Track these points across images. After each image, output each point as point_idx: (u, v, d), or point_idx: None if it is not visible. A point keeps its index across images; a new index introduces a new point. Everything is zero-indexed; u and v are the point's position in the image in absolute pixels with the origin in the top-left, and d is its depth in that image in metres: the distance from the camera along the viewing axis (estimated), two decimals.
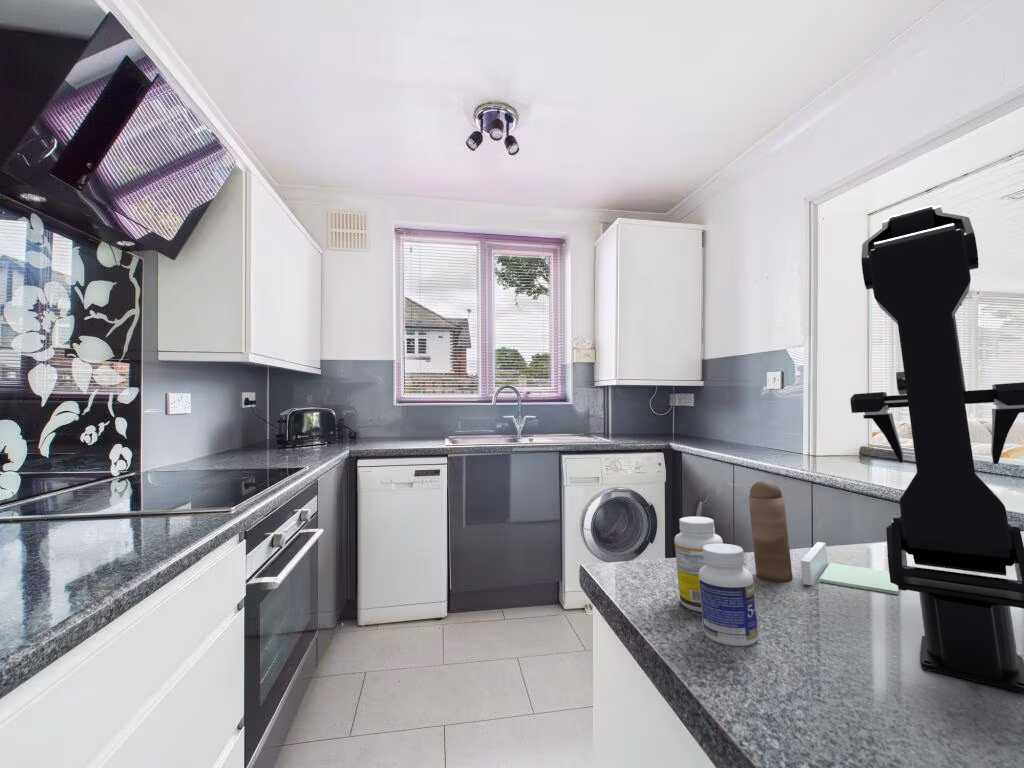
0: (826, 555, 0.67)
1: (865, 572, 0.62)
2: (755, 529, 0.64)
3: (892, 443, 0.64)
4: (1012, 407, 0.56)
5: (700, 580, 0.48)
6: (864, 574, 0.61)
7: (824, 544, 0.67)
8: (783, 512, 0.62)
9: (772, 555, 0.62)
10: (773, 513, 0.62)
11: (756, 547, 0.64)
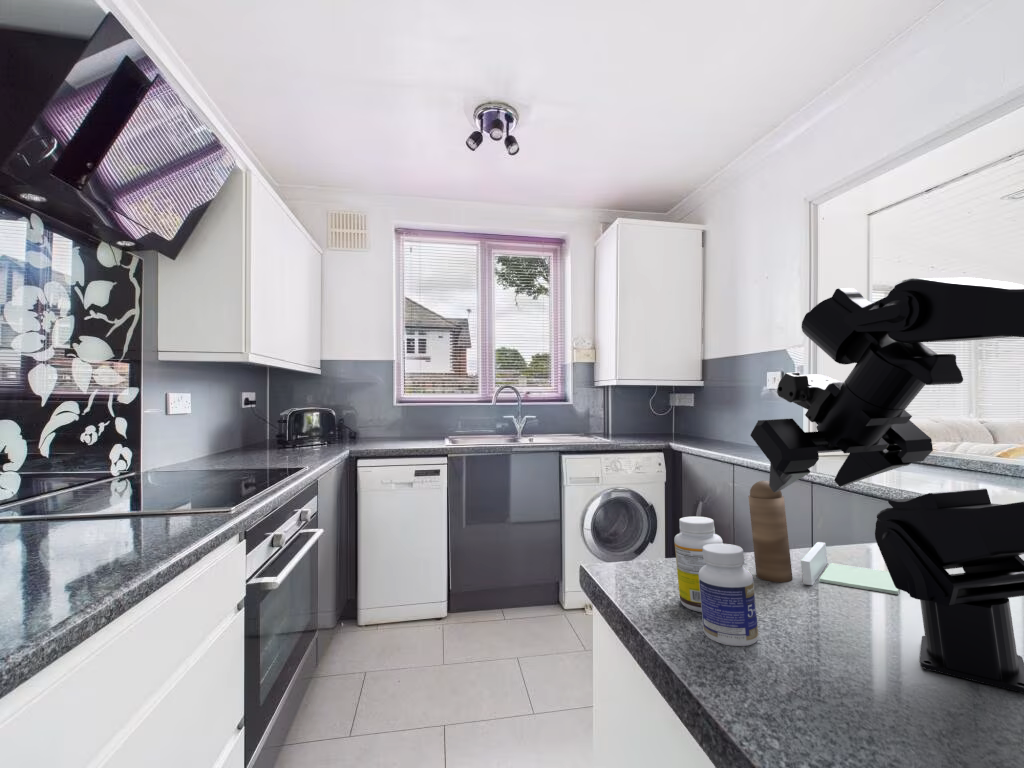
0: (826, 555, 0.67)
1: (865, 572, 0.62)
2: (755, 529, 0.64)
3: (785, 485, 0.53)
4: (894, 453, 0.53)
5: (700, 580, 0.48)
6: (864, 574, 0.61)
7: (824, 544, 0.67)
8: (783, 512, 0.62)
9: (772, 555, 0.62)
10: (773, 513, 0.62)
11: (756, 547, 0.64)
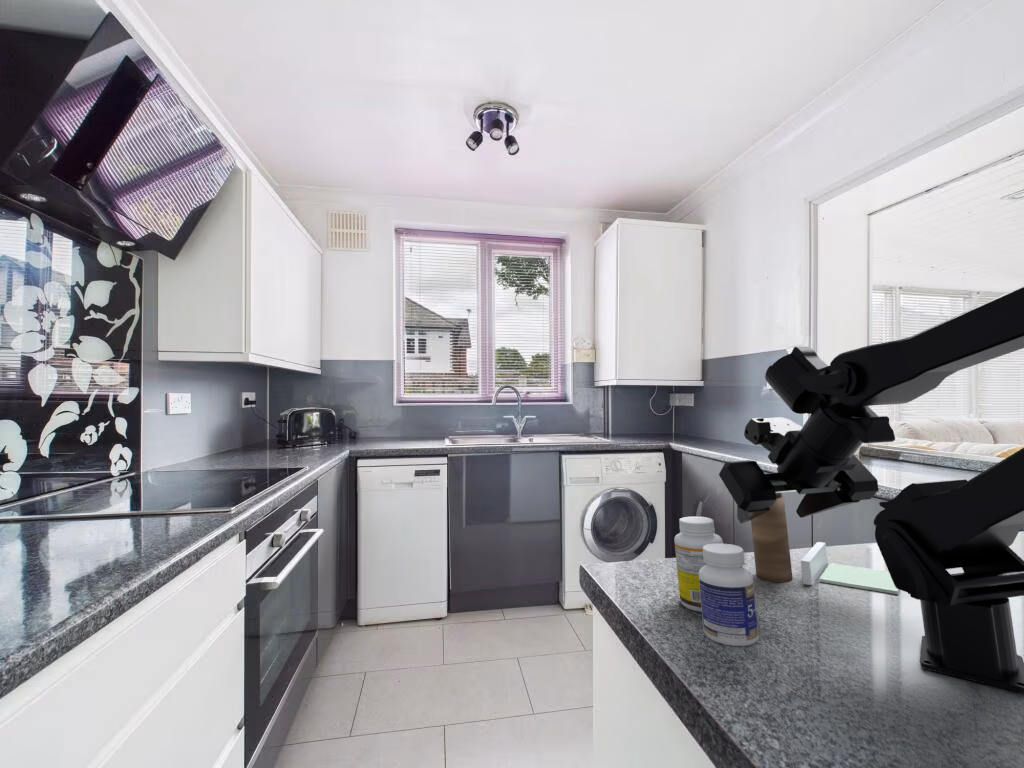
0: (826, 555, 0.67)
1: (865, 572, 0.62)
2: (755, 529, 0.64)
3: (749, 518, 0.60)
4: (846, 491, 0.59)
5: (700, 580, 0.48)
6: (864, 574, 0.61)
7: (824, 544, 0.67)
8: (783, 512, 0.62)
9: (772, 555, 0.62)
10: (773, 513, 0.62)
11: (756, 547, 0.64)
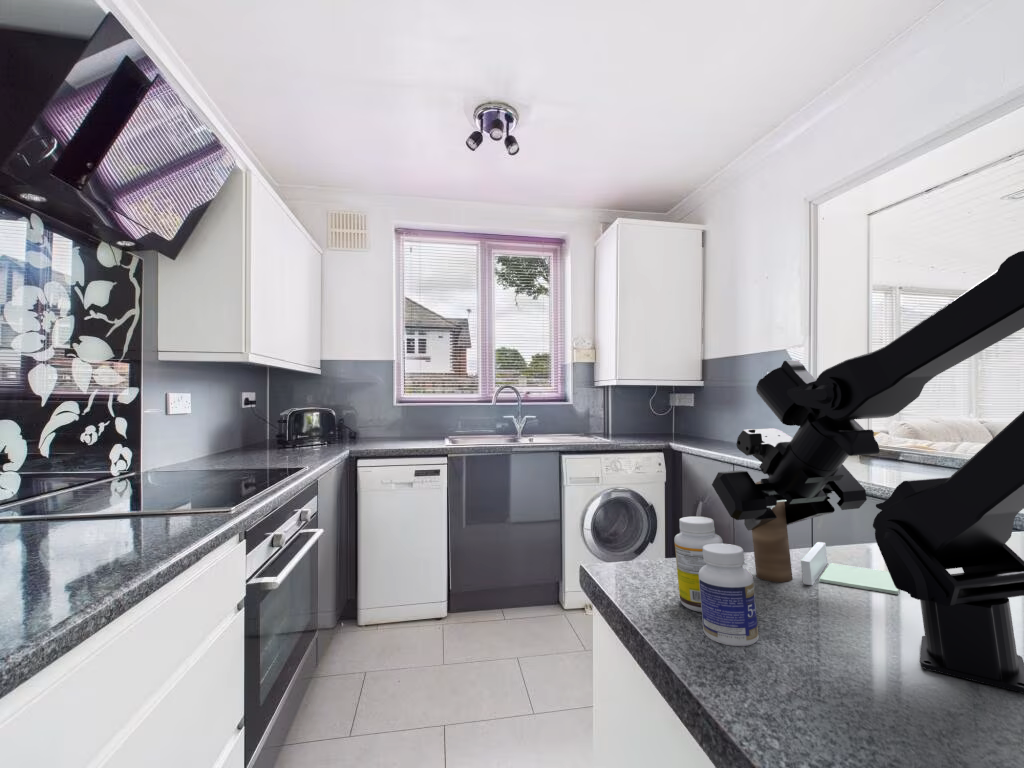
0: (826, 555, 0.67)
1: (865, 572, 0.62)
2: (755, 529, 0.64)
3: (757, 526, 0.62)
4: (820, 502, 0.60)
5: (700, 580, 0.48)
6: (864, 574, 0.61)
7: (824, 544, 0.67)
8: (783, 512, 0.62)
9: (772, 555, 0.62)
10: None
11: (756, 547, 0.64)
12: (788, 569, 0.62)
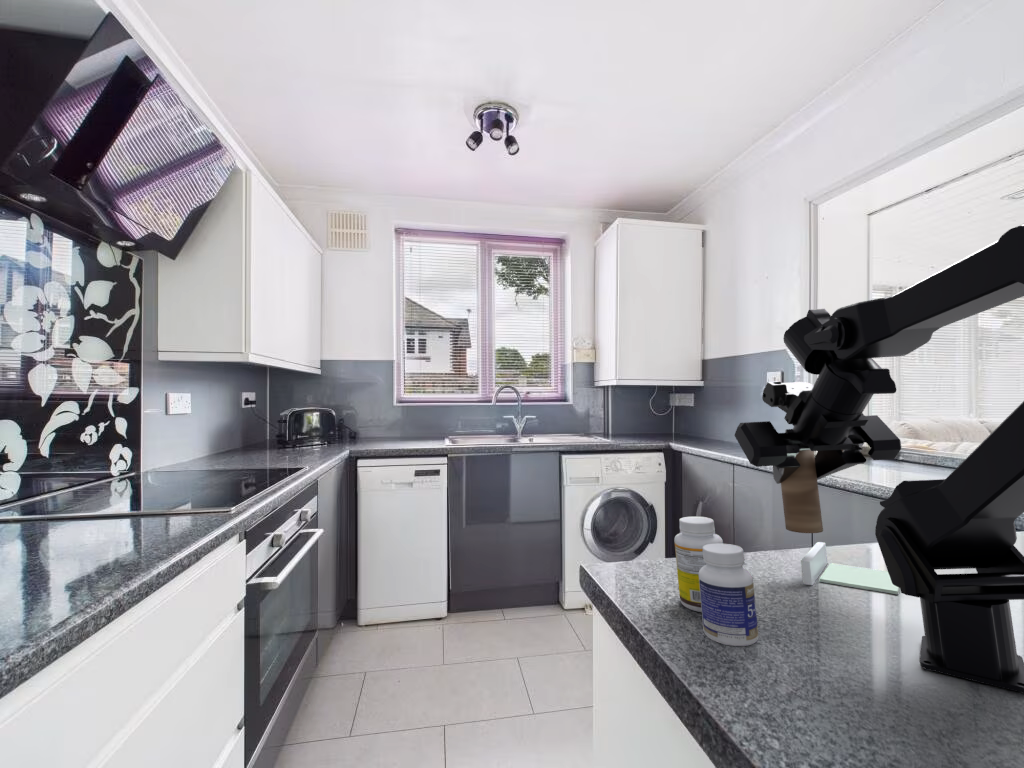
0: (826, 555, 0.67)
1: (865, 572, 0.62)
2: (783, 481, 0.64)
3: (783, 477, 0.62)
4: (851, 452, 0.60)
5: (700, 580, 0.48)
6: (864, 574, 0.61)
7: (824, 544, 0.67)
8: (811, 464, 0.62)
9: (799, 506, 0.62)
10: None
11: (784, 499, 0.64)
12: (817, 521, 0.61)
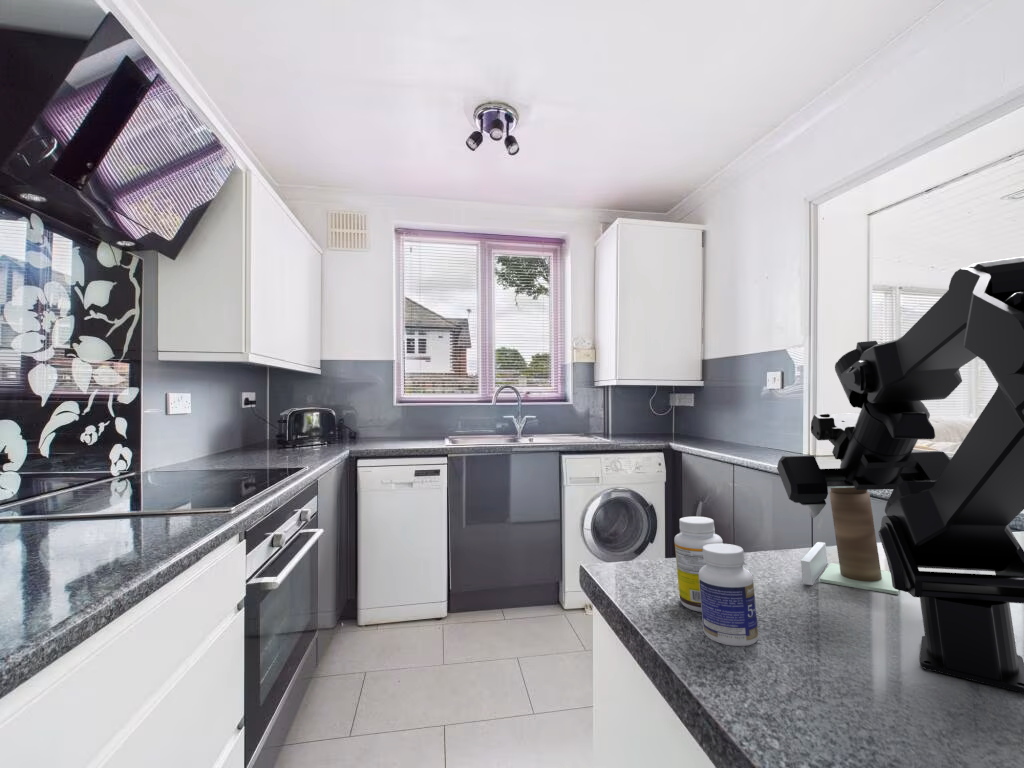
0: (826, 555, 0.67)
1: None
2: (835, 524, 0.62)
3: (814, 512, 0.61)
4: None
5: (700, 580, 0.48)
6: None
7: (824, 544, 0.67)
8: (865, 509, 0.59)
9: (852, 552, 0.60)
10: (852, 509, 0.60)
11: (837, 543, 0.62)
12: (873, 568, 0.59)
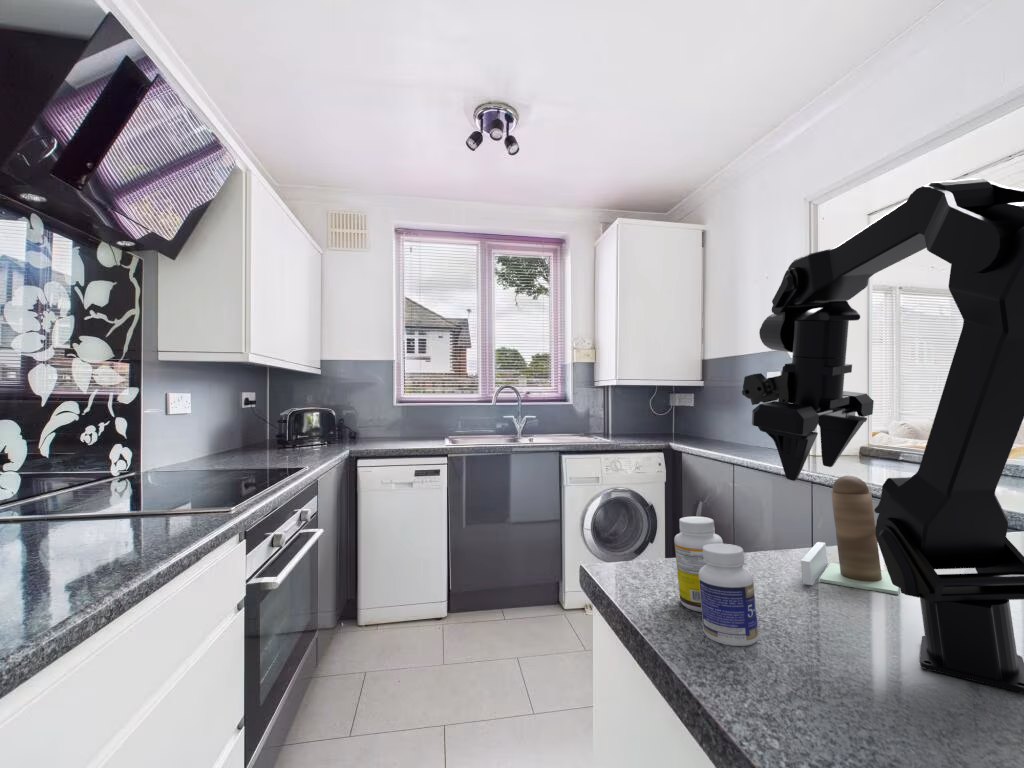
0: (826, 555, 0.67)
1: None
2: (836, 524, 0.62)
3: (802, 462, 0.57)
4: (851, 416, 0.62)
5: (700, 580, 0.48)
6: None
7: (824, 544, 0.67)
8: (867, 509, 0.59)
9: (853, 552, 0.60)
10: (853, 509, 0.60)
11: (838, 543, 0.62)
12: (873, 569, 0.59)
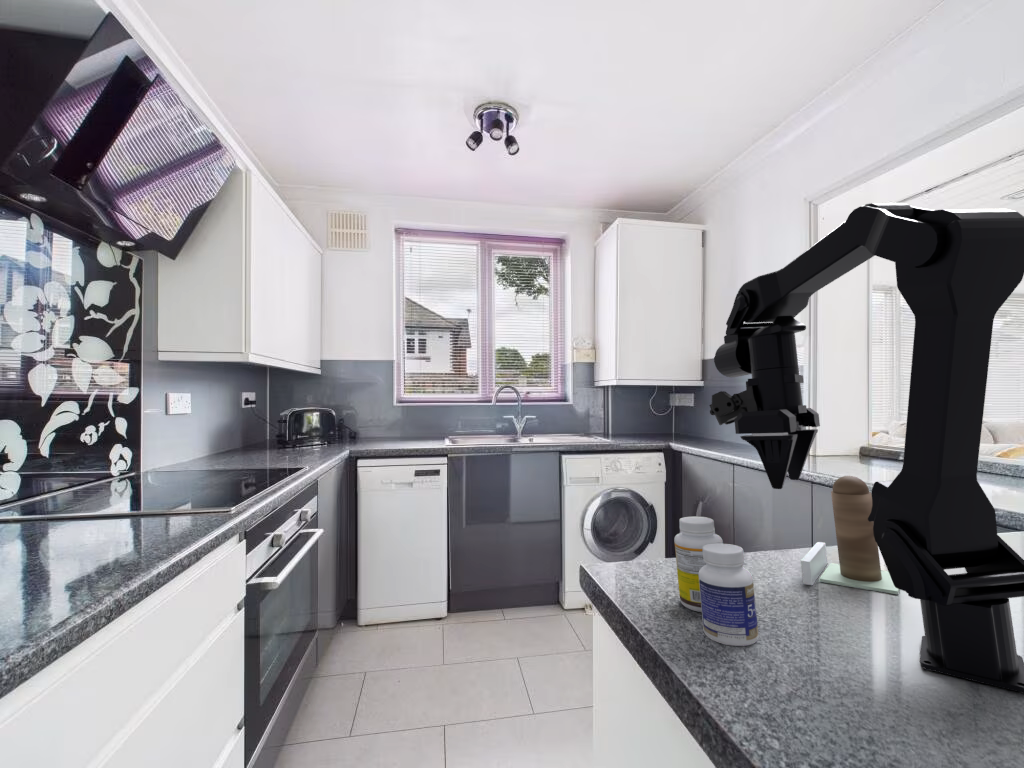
0: (826, 555, 0.67)
1: None
2: (836, 525, 0.62)
3: (787, 467, 0.57)
4: (804, 429, 0.66)
5: (700, 580, 0.48)
6: None
7: (824, 544, 0.67)
8: (867, 509, 0.59)
9: (852, 553, 0.60)
10: (853, 509, 0.60)
11: (838, 543, 0.62)
12: (873, 569, 0.59)
